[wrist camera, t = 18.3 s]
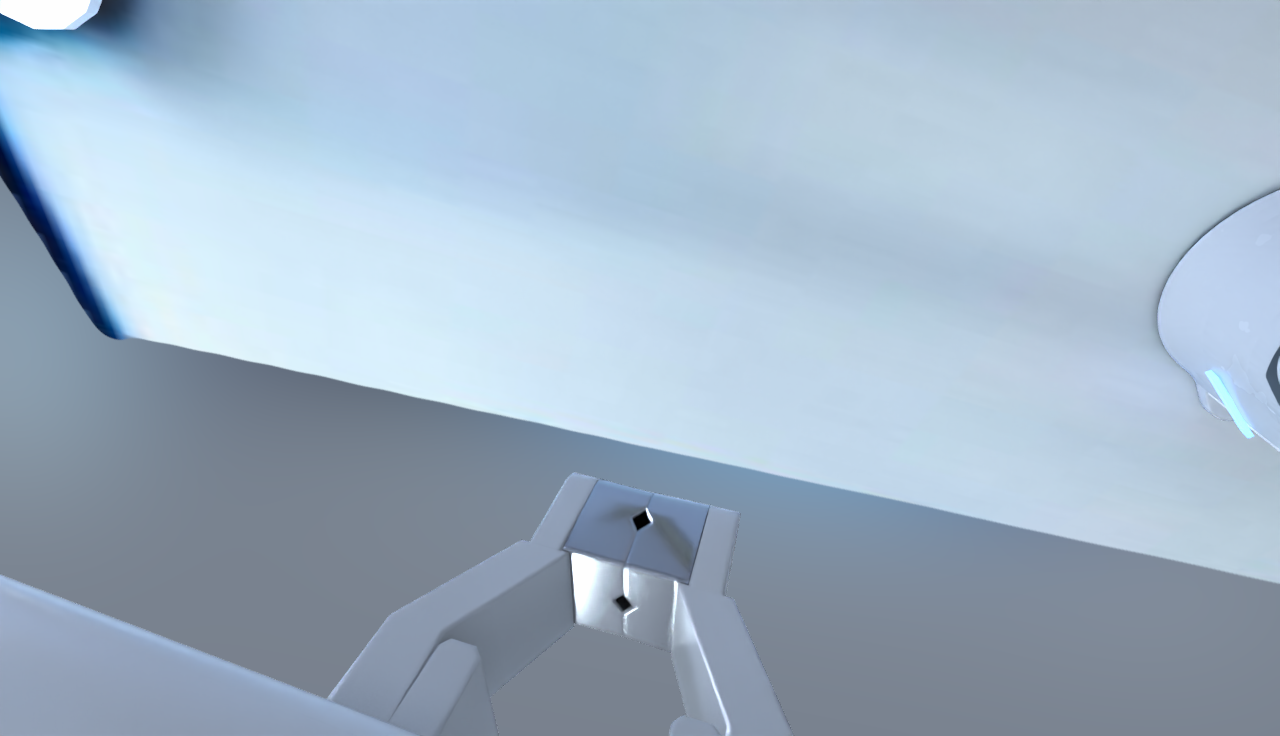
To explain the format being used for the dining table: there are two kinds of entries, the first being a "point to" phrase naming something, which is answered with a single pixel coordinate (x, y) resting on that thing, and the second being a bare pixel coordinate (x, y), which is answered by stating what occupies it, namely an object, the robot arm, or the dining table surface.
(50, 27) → the frying pan
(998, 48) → the dining table surface
